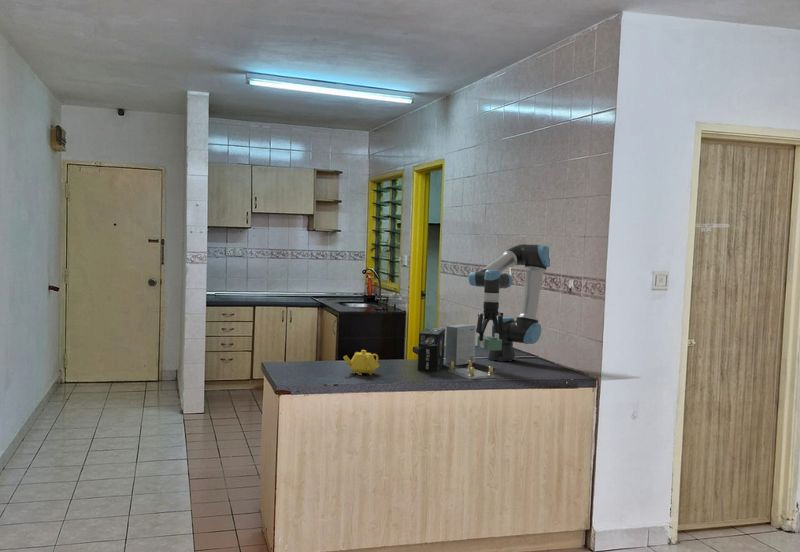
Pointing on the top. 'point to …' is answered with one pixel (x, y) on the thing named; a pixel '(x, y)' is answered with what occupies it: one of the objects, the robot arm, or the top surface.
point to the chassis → (471, 371)
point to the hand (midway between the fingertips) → (489, 346)
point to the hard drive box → (460, 344)
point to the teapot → (362, 362)
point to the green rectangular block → (491, 343)
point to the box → (431, 349)
